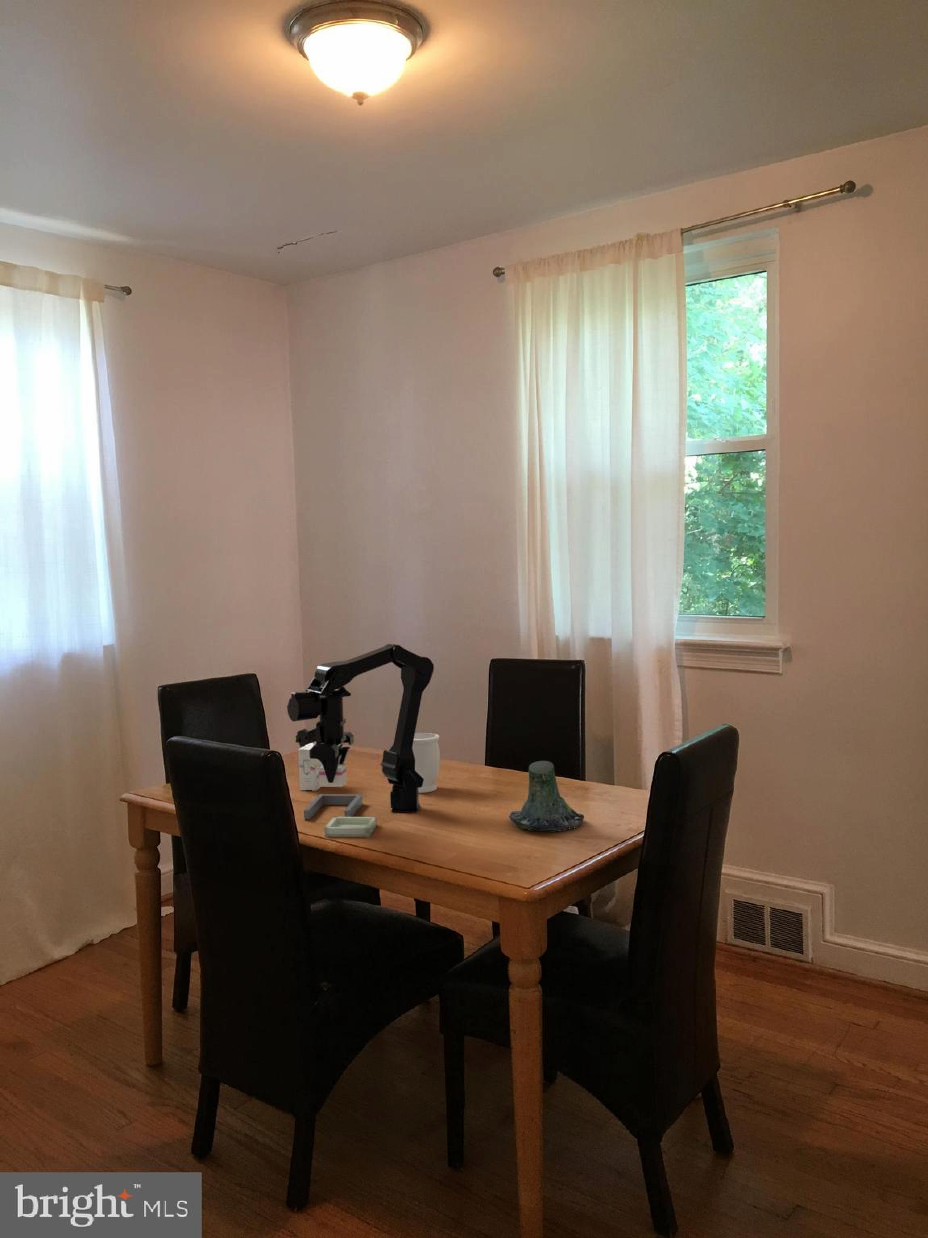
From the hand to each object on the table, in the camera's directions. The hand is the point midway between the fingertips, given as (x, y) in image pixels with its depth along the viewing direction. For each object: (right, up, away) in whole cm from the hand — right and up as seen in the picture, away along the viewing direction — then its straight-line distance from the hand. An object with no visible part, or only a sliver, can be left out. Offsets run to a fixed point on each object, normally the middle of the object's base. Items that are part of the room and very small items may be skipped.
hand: (333, 780), depth 235 cm
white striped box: (0, -1, 0) cm, 1 cm away
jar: (+20, -8, +33) cm, 39 cm away
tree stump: (+51, -11, -1) cm, 52 cm away
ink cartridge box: (-11, -9, +38) cm, 40 cm away
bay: (-2, -10, +12) cm, 15 cm away
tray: (+5, -11, -5) cm, 13 cm away
